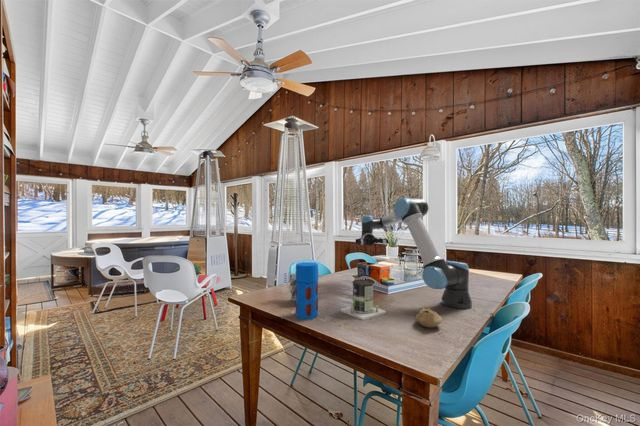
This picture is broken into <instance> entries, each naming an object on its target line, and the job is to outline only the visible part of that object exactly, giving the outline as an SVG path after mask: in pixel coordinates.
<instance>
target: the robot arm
mask: <svg viewBox="0 0 640 426" xmlns="http://www.w3.org/2000/svg"><path fill="white" fill-rule="evenodd" d="M428 211H429V204H428V202H427V201H426V200H425V199H423V198H421V197H400V198H398V199H397V200H396V201H395V202H394V204H393V212H392V213H390V214H387V215H384V216H382V217H377V218H376V217H373V216H372V215H362V216H361V235H360V237H359V238H355V244H358V245H359V246H361V245H362V246H364V244H365V245H366V246H373V245H374V244H383V245H384V246H387V245H388V244H389V239H387V238H380V237H379V238H377V237H376V236H375V235H373V231H374V230H377V229H378V230H379V229H382V230H385V229H388V228H389V227H391V226H393V225H396V224H400V223H402V224H404V225H406V226H407V229H408V230H409V232H410V234H411V237H412V239H413V242H414V243H415V246H416V248H417V250H418V252H419V255H420V257H421V260H422V261H423V265H422V269H423V270H422V276H421V277H422V280H423V282H424V284H425V285H426V286H427V287H428V288H431V289H433V290H442V289H443V293H442V296H441V304H442V305H444V306H446V307H449V308H454V309H471V308H472V307H473V301H472V297H471V295H470V291H469V282H470V281H469V275H470V274H469V272H470V270H469V265H468V263H466V262H462V261H461V262H460V261H453V260H445V259H444V258H442V257H440V255H439V253H438V251H437V248H436V246H435V245H434V242H433V239H431V236H430V233H428V230H427V227H426V225H425V224H424V221H423V217H425V216H426V215H427V214H428Z"/></svg>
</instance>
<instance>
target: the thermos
mask: <svg viewBox="0 0 640 426" xmlns="http://www.w3.org/2000/svg"><path fill="white" fill-rule="evenodd" d="M295 274H296V300H295V314H296V315H295V317H296V318H297V319H299V318H300V319H299V320H303V319H310V320H314V318H315V319H317V318H318V316H319V264H318V263H316V262H312V261H310V262H309V261H307V262H306V261H305V262H298V263H296V264H295ZM316 317H317V318H316Z"/></svg>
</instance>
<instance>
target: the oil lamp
mask: <svg viewBox="0 0 640 426" xmlns="http://www.w3.org/2000/svg"><path fill="white" fill-rule="evenodd" d="M415 320H416V321H417V322H418V323H419V324H420V325H421V326H422V327H426V328H431V329H432V328H436V327H438V325H440V324H441V323H442V322H443V318H442V316H441V315H439V314H438V313H437V312H436V311H435V310H432V309H431V308H430V307H424V306H423V307H421V309H420V311H419V312H418V313H417V314H416V315H415Z"/></svg>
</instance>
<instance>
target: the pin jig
mask: <svg viewBox="0 0 640 426" xmlns="http://www.w3.org/2000/svg"><path fill="white" fill-rule="evenodd" d="M339 312H341V313H344V314H347V315H349V316H352V317H353V318H356V319H359V320H361V321H366V320H368V319H372V318H375V317H377V316H381V315H384V314H386V310H384V309H381V308H379V305H377V304H376V305H375V306H373V311H372V312H370V313H358V312H355V311H354V307H353V305H350V306H347V307H343V308H340V309H339Z"/></svg>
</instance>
